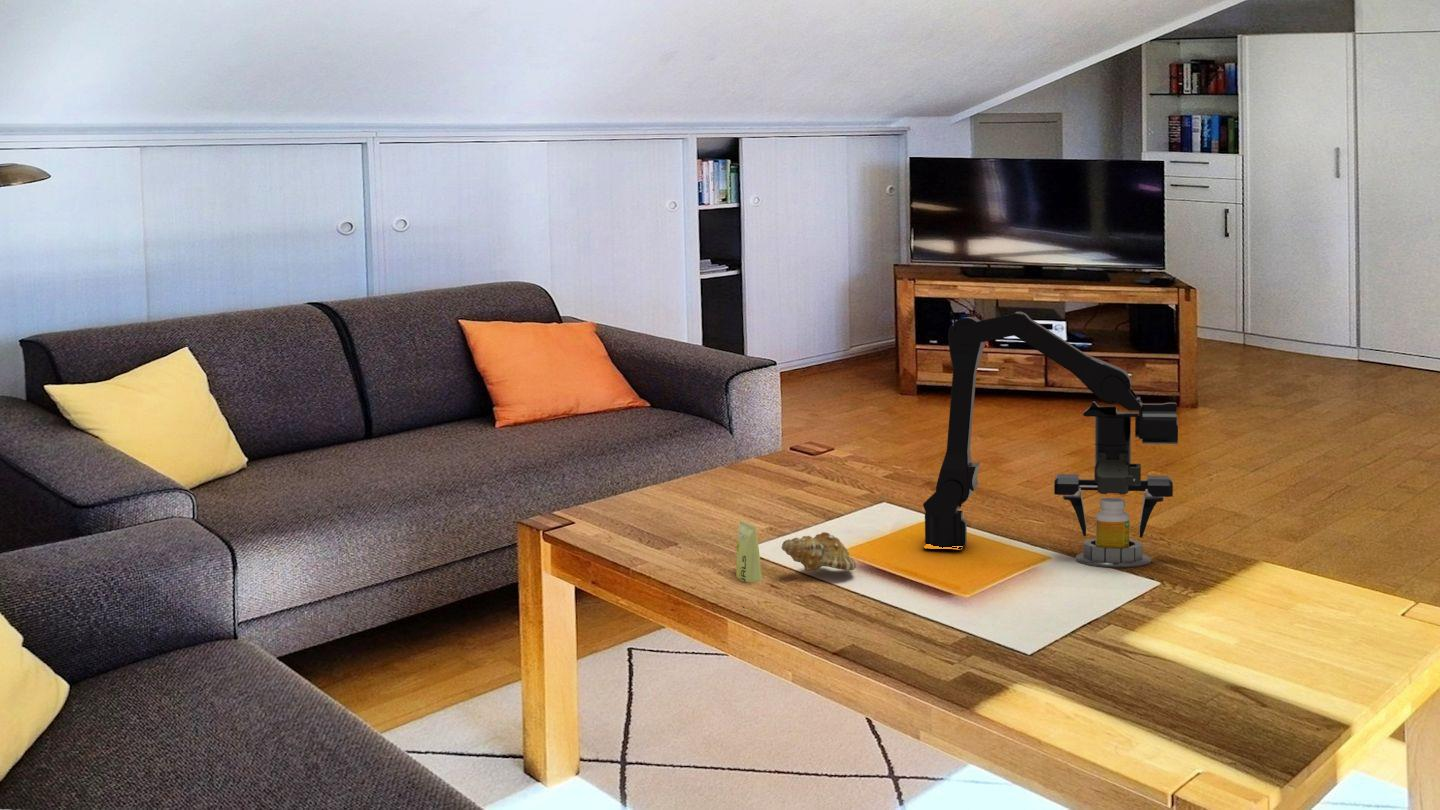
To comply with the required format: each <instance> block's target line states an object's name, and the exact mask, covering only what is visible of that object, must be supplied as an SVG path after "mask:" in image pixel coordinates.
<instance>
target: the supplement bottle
mask: <svg viewBox="0 0 1440 810" xmlns="http://www.w3.org/2000/svg"><path fill="white" fill-rule="evenodd" d="M1099 506H1100V507H1099V508H1100V509H1101V510H1100V511H1098V512H1097V513H1096V514H1095V538H1096V546H1103V547H1129V539H1130V514H1128V512H1126V511H1125V509H1126V500H1125V499H1123V498H1120V497H1103V498H1100V501H1099Z"/></svg>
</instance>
